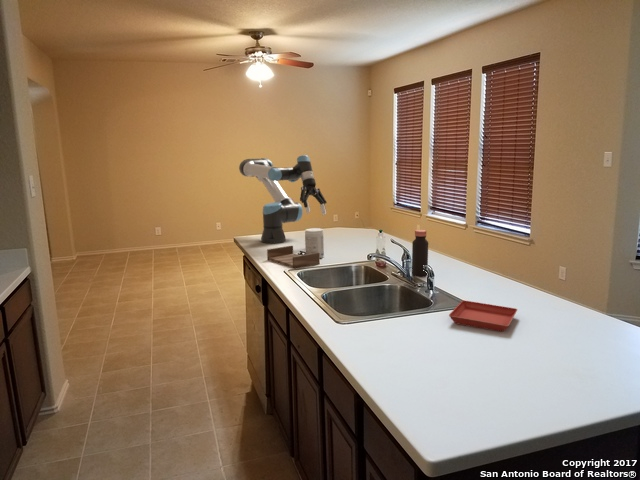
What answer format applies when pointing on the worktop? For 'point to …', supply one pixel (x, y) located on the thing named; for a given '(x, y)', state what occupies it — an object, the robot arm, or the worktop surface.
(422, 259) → the bottle
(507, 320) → the plant saucer
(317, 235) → the supplement tub
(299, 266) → the walnut tray
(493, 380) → the worktop surface
